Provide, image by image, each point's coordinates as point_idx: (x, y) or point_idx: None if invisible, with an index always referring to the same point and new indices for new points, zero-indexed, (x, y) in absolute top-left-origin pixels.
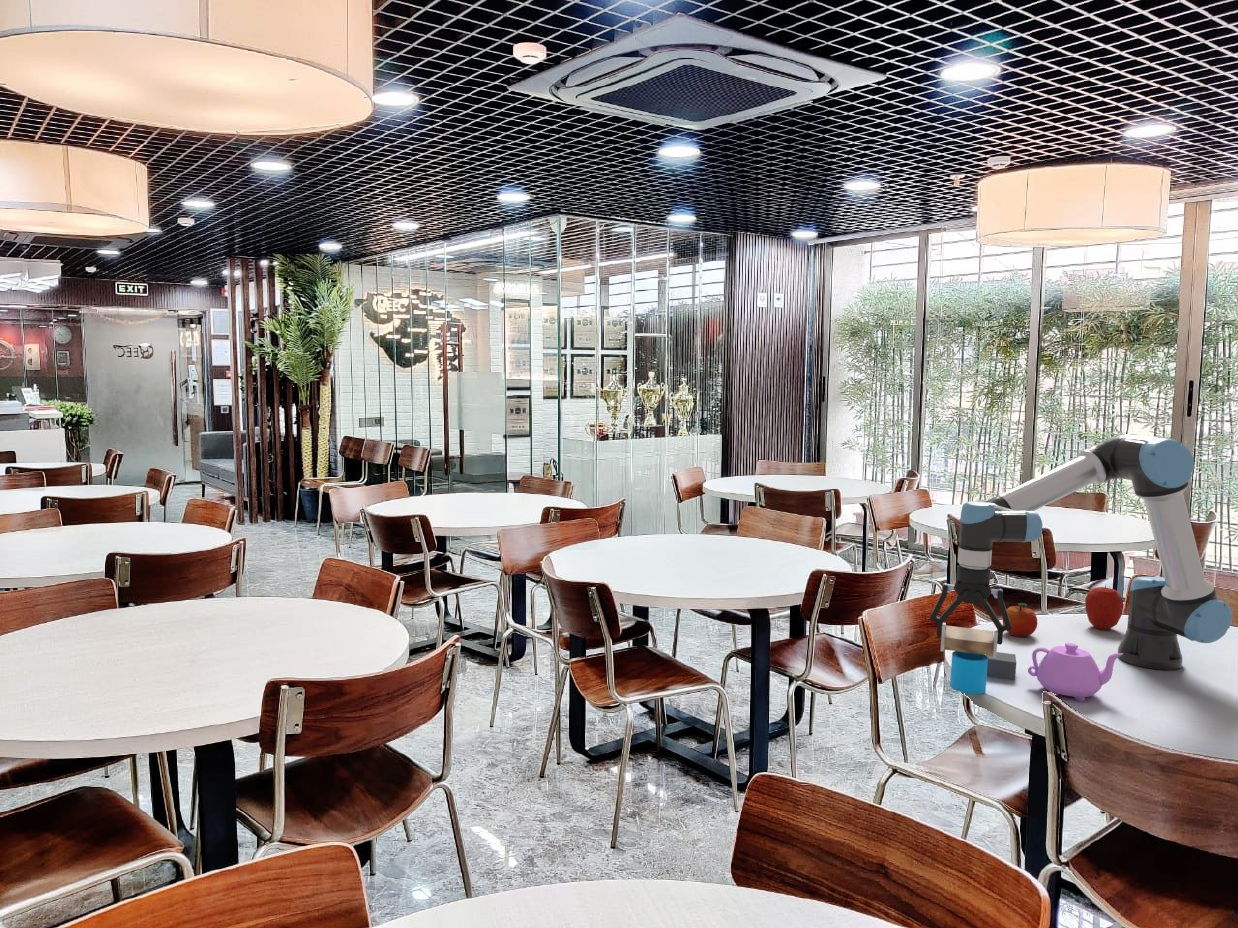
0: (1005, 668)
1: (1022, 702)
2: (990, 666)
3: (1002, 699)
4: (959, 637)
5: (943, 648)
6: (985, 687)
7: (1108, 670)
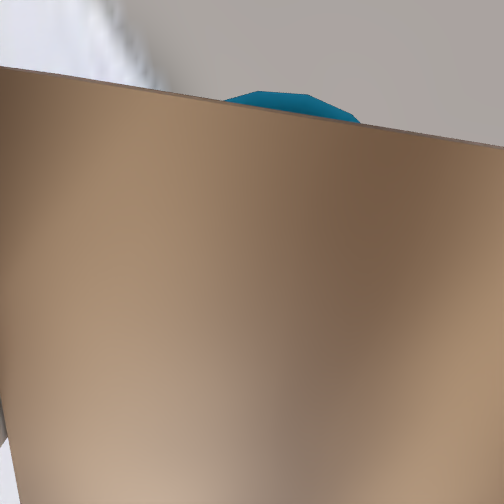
0: None
1: (3, 27)
2: None
3: (105, 46)
4: (473, 252)
5: None
6: None
7: None
